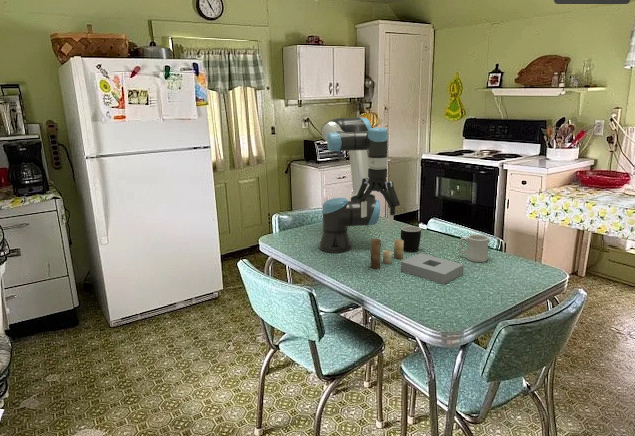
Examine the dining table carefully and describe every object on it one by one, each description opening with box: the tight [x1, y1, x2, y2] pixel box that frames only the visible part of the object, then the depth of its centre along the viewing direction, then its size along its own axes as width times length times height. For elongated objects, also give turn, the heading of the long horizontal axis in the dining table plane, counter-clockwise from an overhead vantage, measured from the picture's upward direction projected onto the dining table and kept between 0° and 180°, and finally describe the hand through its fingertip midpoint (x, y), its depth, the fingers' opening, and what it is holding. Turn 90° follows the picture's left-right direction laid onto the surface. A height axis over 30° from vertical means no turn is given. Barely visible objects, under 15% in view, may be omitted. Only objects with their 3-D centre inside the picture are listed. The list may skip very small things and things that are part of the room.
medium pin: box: [393, 238, 404, 260], centre depth 201 cm, size 4×4×8 cm
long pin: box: [370, 238, 382, 270], centre depth 190 cm, size 4×4×12 cm
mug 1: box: [400, 225, 422, 253], centre depth 212 cm, size 12×9×10 cm
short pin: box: [382, 249, 393, 265], centre depth 196 cm, size 4×4×5 cm
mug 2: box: [458, 233, 490, 263], centre depth 198 cm, size 12×9×10 cm
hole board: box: [400, 252, 465, 285], centre depth 184 cm, size 20×14×4 cm
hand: (376, 219), depth 186 cm, fingers open, 13 cm apart
